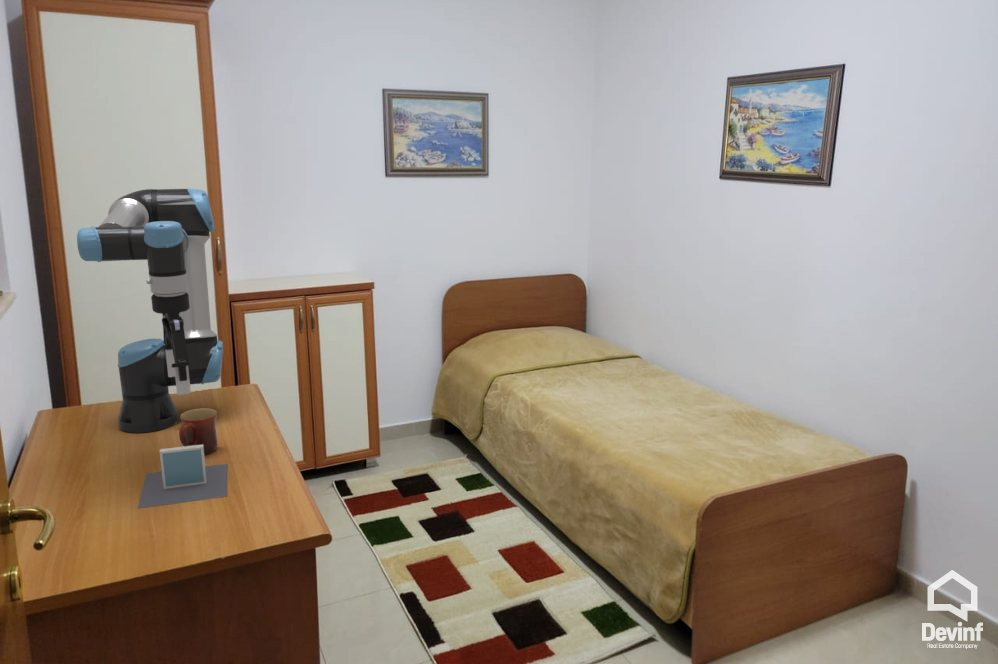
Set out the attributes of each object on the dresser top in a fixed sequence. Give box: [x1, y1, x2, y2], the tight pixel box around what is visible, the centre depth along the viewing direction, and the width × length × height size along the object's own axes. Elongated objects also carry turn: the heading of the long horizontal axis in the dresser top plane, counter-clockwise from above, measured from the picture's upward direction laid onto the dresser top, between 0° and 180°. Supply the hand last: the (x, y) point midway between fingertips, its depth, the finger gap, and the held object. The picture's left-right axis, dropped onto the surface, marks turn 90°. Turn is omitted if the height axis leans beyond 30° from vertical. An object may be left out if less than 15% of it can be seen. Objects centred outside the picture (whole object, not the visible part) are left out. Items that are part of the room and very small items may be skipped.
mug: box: [178, 407, 218, 456], centre depth 182 cm, size 12×9×10 cm
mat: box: [137, 463, 229, 509], centre depth 166 cm, size 18×18×1 cm
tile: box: [159, 444, 207, 489], centre depth 165 cm, size 2×9×9 cm, turn 110°
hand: (179, 384), depth 164 cm, fingers open, 13 cm apart
